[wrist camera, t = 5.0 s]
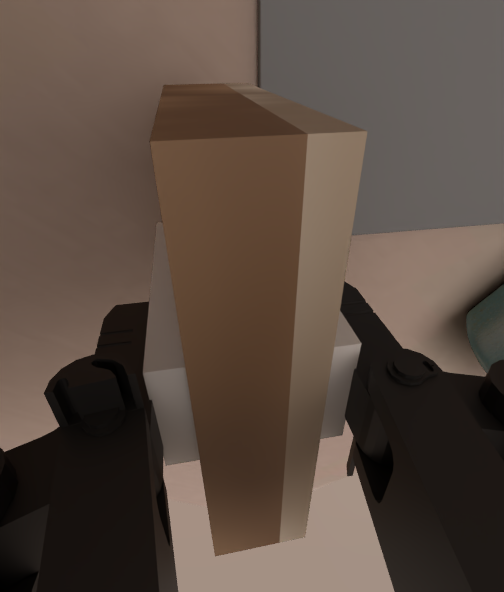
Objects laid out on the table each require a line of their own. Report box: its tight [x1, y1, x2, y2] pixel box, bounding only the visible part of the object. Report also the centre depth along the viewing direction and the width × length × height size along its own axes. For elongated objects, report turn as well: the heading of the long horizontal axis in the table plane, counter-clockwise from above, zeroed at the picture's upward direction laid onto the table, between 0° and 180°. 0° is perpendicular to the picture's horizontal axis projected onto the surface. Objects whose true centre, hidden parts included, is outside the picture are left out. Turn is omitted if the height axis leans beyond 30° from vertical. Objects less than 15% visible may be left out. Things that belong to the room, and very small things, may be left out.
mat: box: [258, 0, 504, 235], centre depth 16 cm, size 20×16×1 cm
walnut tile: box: [150, 83, 367, 556], centre depth 10 cm, size 2×10×8 cm, turn 1°
